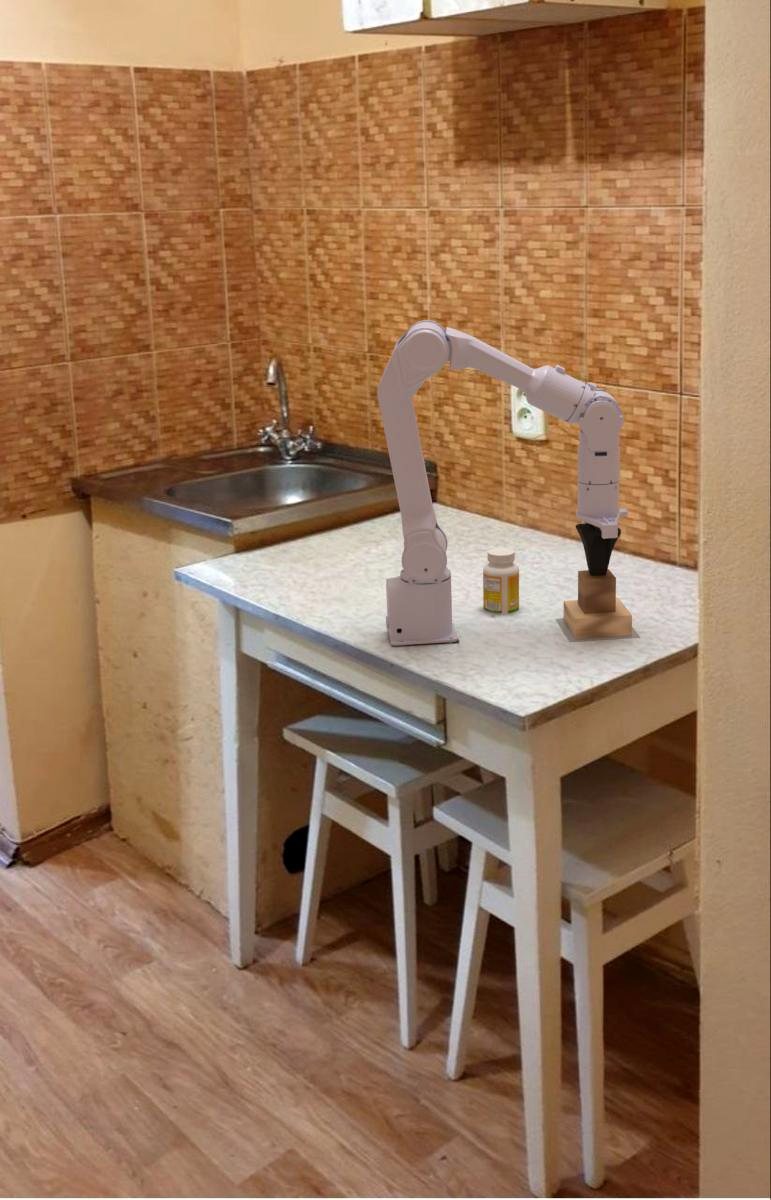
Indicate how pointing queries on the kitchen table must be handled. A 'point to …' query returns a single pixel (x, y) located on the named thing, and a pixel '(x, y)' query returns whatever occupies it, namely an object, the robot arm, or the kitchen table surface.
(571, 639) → the baseplate
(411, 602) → the robot arm
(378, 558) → the kitchen table surface
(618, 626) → the oak brick
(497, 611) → the supplement bottle
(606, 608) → the walnut block
